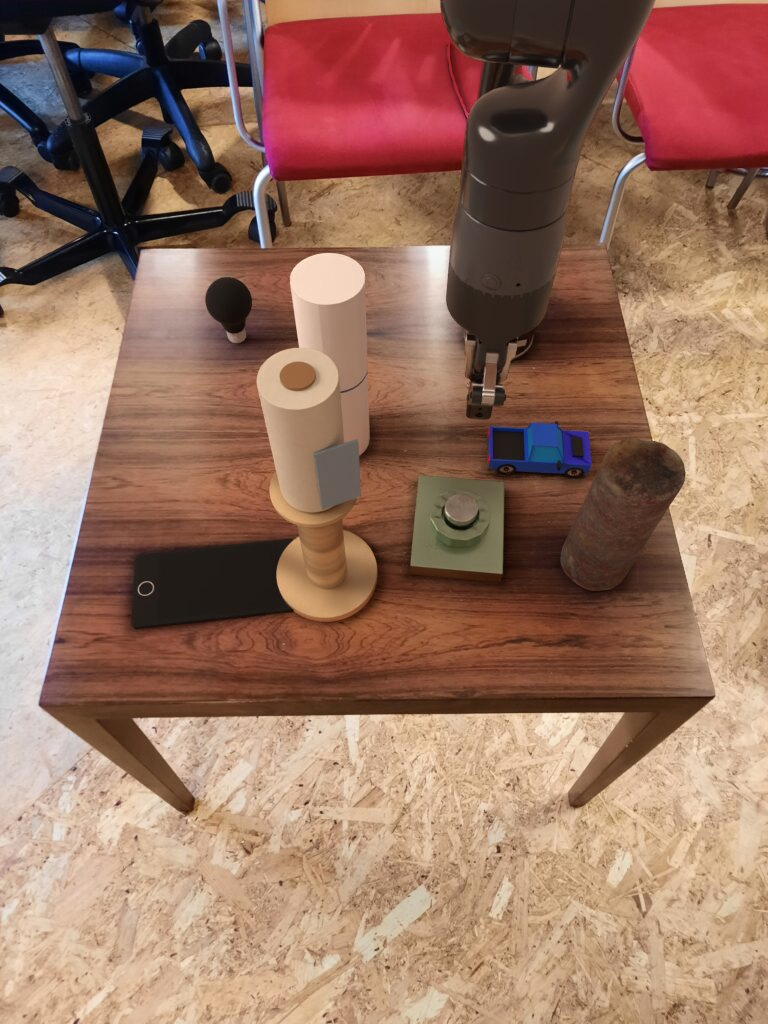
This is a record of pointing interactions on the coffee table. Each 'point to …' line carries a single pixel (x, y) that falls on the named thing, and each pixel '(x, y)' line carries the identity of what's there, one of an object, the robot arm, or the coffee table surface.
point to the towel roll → (308, 430)
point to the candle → (621, 512)
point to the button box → (458, 531)
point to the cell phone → (207, 584)
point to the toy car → (538, 450)
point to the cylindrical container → (336, 330)
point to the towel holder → (323, 563)
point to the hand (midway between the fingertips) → (478, 412)
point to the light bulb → (229, 306)
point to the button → (460, 511)
